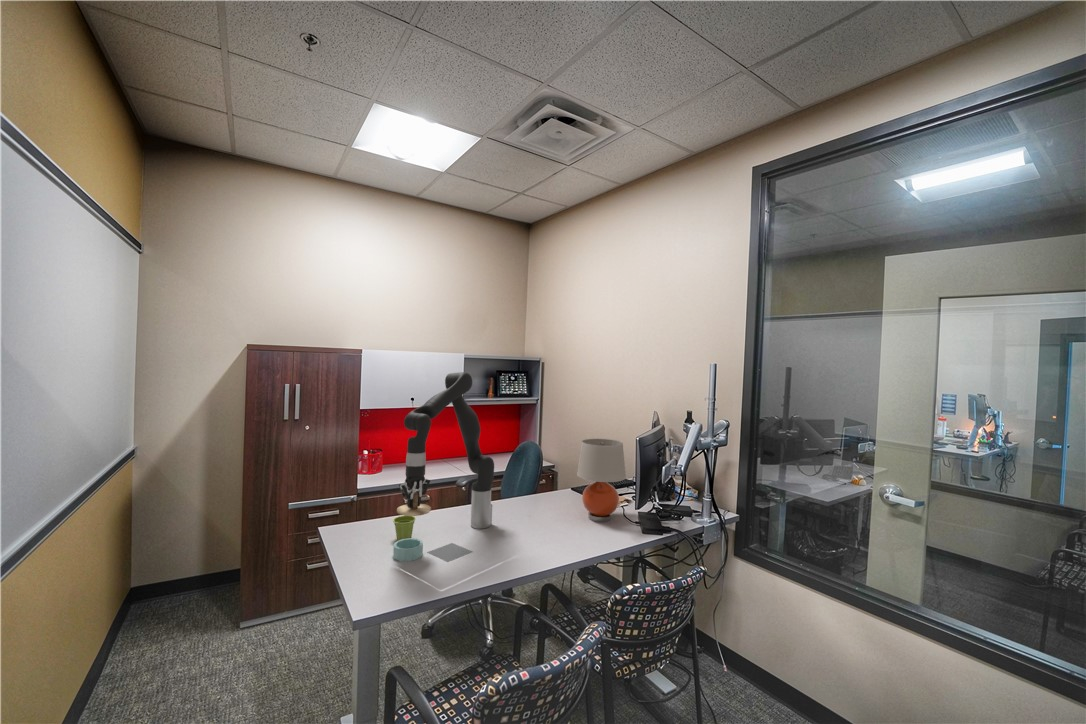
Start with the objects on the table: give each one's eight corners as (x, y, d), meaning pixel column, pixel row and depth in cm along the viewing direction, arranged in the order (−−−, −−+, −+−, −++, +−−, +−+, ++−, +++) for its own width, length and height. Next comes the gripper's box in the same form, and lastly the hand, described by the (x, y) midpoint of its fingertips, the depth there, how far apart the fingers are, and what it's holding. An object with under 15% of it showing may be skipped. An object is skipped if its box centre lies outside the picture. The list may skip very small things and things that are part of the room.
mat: (452, 544, 195) (452, 542, 195) (472, 553, 187) (472, 551, 187) (426, 553, 185) (426, 552, 185) (447, 563, 177) (447, 561, 177)
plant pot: (392, 544, 193) (392, 523, 193) (393, 535, 202) (393, 516, 202) (415, 542, 196) (415, 522, 196) (415, 534, 205) (415, 514, 205)
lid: (417, 503, 191) (418, 487, 191) (437, 510, 183) (438, 493, 183) (390, 510, 181) (390, 493, 181) (409, 518, 173) (410, 500, 173)
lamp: (565, 516, 234) (568, 440, 234) (597, 506, 251) (599, 436, 251) (602, 530, 216) (605, 448, 216) (634, 519, 233) (636, 443, 232)
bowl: (411, 548, 190) (411, 536, 190) (427, 555, 183) (428, 543, 183) (387, 556, 181) (388, 543, 181) (404, 565, 174) (404, 551, 174)
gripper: (424, 459, 190) (422, 501, 190) (394, 464, 179) (392, 508, 179) (435, 462, 185) (434, 505, 185) (406, 467, 174) (404, 513, 174)
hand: (413, 506), depth 182 cm, fingers closed on lid, 2 cm apart
